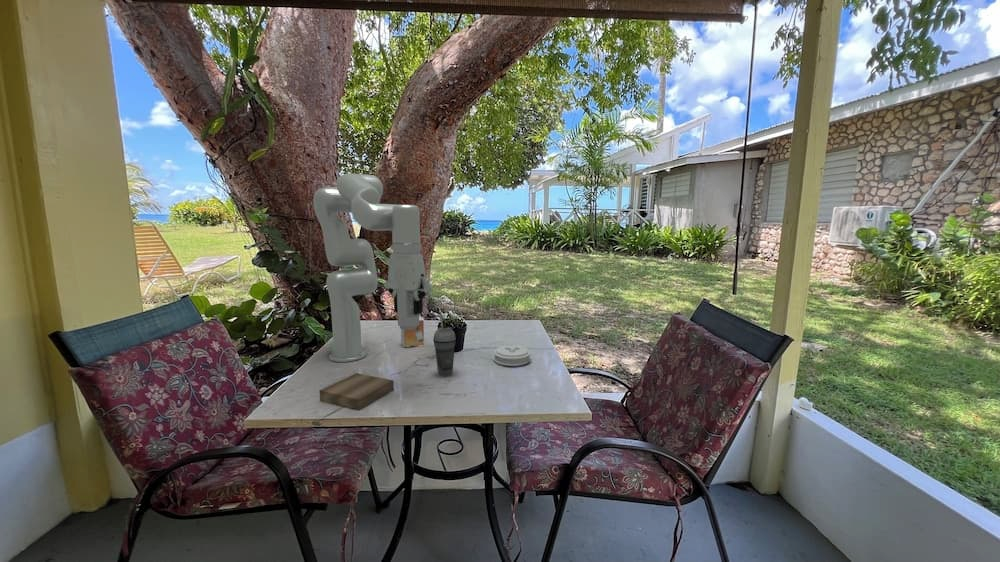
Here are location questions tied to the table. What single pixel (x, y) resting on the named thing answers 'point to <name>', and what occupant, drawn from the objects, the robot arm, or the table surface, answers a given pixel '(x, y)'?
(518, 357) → the lid
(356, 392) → the walnut base
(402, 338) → the small box
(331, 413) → the table surface
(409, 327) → the energy drink can
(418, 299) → the robot arm
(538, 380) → the table surface
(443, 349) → the beverage cup
